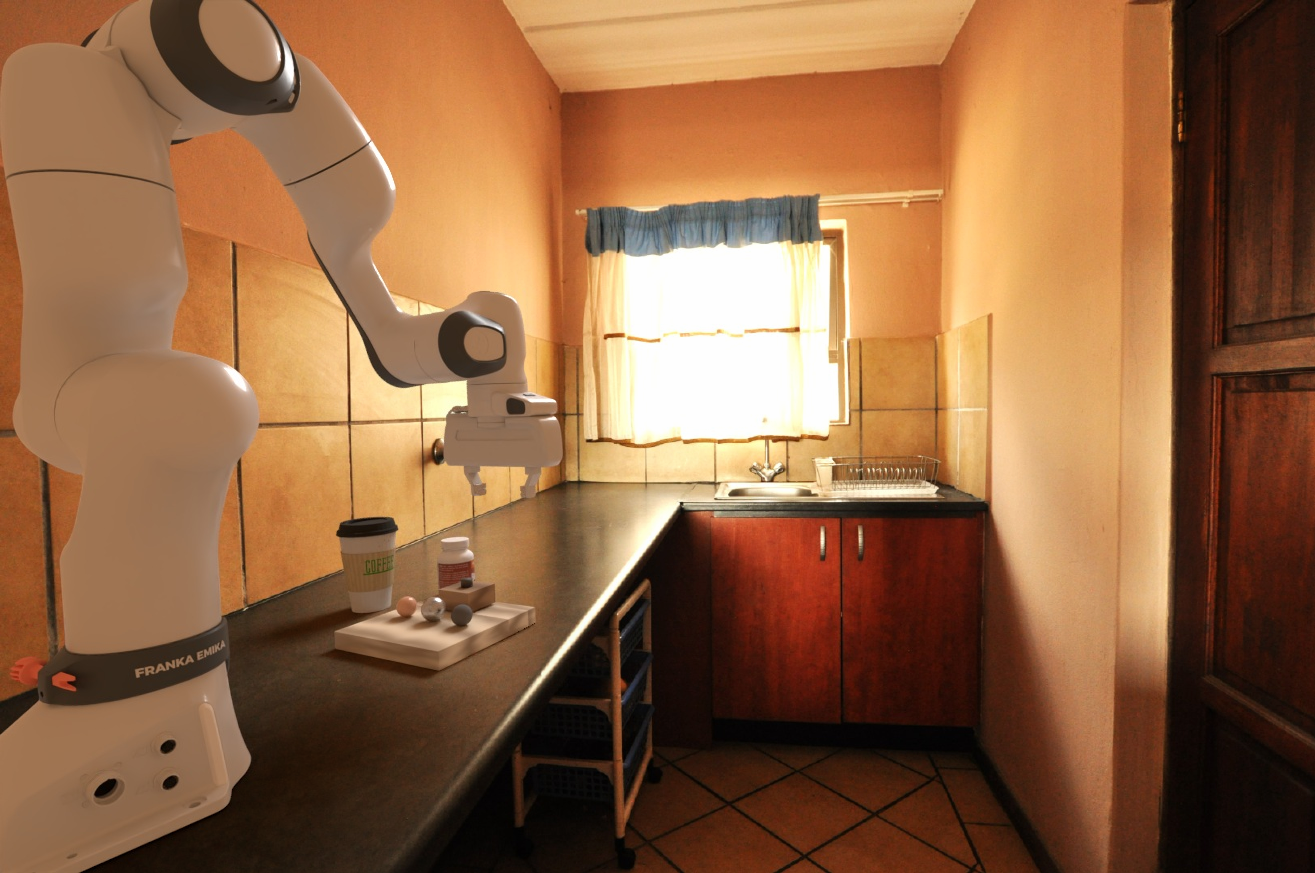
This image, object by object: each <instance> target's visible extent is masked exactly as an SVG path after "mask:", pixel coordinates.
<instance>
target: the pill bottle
mask: <svg viewBox="0 0 1315 873" xmlns="http://www.w3.org/2000/svg"><path fill="white" fill-rule="evenodd" d="M469 546H470V539H469V537H466V536H455V537H454V536H453V537H447V538H443V539H441V540H440V549H441V550H442V552H440V553H439V554H438V556H437V557H436V564H437V565H436V567H437V569H436V570H437V588H438V589H437V591H438V590H439V589H442V588H444V587H447V586H450V585H453V584H456V583H459V582H461V579H462V578H467V577H470V578H473V581H476V572H475V568H476V567H475V556H474V553H473V552H472V550H470V549H468V548H469Z"/></svg>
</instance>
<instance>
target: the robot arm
mask: <svg viewBox="0 0 1315 873" xmlns="http://www.w3.org/2000/svg"><path fill="white" fill-rule="evenodd" d="M331 82H332V81H330V80H329V79H328V78H327V76H326V75H325V74H324V72H322V71H321V69H319V67H318V66H317V65H316V64H315V63H314V62H313V61H312V60H311V59H309V58H308V57H307V56H304V55H302V54H300V53H298V52H294V51H293V49H292V47H291V45H290V43H289V42H288V41H287V40H286V38H285V37H284V34H283V32H282V31H281V30H280V27H278V26H277V25H276V23H275V22H274V19H272V18H271V17H270V15H268V13H267V12H266V11H265V10H264V9H263V8H262V7H261V6H260V5H259V3H257V2H256V1H255V0H137V1H133V2H131V3H128V4H126V5H125V6H123V7H121V8H120V9H119V10H117V11H116V12H115V13H114V14H113V15H112V16H111V17H110V18H109V19H107V20H106V21H105V22H104V24H102V25H101V27H99V28H98V29H95V30H93V31H92V32H91V33H89V34H88V35H87V36H86V37H85V39H84V40H83V41H82V42H81V44H80V45H78V44H72V43H64V42H41V43H34V44H29V45H26V46H23V47H20V48H18V49H17V50H16V51H13V53H11V54H10V55H9V56H8V57H7V59H6V61H5V62H4V65H3V68H2V71H1V82H0V148H1V158H2V166H3V171H4V178H5V184H6V188H7V194H8V200H9V207H10V210H11V211H10V212H11V217H12V222H13V229H14V234H15V240H16V246H17V252H18V256H19V264H20V270H21V278H22V292H23V293H22V322H21V323H22V324H21V338H20V366H19V367H20V370H19V372H20V387H19V392H18V394H17V397H16V399H15V401H14V405H13V409H12V424H13V428H14V432H15V433H16V435H17V437H18V439H19V440H20V442H21V443H22V445H23V446H25V448H26V449H27V450H28V451H29V452H31V453H32V454H33V455H35V456H37V457H38V458H39V459H41V460H42V461H44V462H46V463H48V464H49V465H51V466H53V467H54V468H58V469H59V470H62V471H64V472H67V473H70V474H74V475H79V476H82V482H81V488H80V490H81V491H80V495H79V502H78V507H77V511H76V515H75V516H76V517H75V521H74V524H73V528H72V531H71V534H70V537H69V539H68V541H67V542H66V544H65V545H64V547H63V548H62V551H61V552H60V556H59V570H60V572H59V573H60V587H61V601H62V615H63V628H64V629H63V630H64V642H65V644H64V645H63V646H62V647H61V648H60V649H59V650H58V652H57V653H56V654H55V655H54V656H52V657H51V659H49V661H46V660H44V659H40V658H38V657H35V656H26V657H22V658H20V659H18V660H17V661H16V662H14V666H11V667H10V670H11V671H10V672H9V675H10V676H11V677H10V678H11V679H12V680H13V681H15V682H17V683H22V685H26V686H33V685H37V693H38V701H37V702H36V703H34V704H33V705H32V706H31V707H30V708H29V709H28V710H27V711H25V712H24V713H23V714H22V715H21V716H20V717H19V718H18V719H16V720H15V721H14V722H13V723H12V724H11V725H10V726H8V728H6V729H5V730H4V731H3V732H2V733H1V734H0V873H81V872H83V871H86V870H88V869H90V868H92V867H94V866H97V865H99V864H101V863H105V862H106V861H109V860H110V859H113V858H115V857H118V856H120V855H123V854H125V853H127V852H129V851H131V850H134V849H136V848H138V847H140V846H143V845H145V844H148V843H149V842H152V841H154V840H157V839H159V838H161V837H163V836H166V835H168V834H170V833H172V832H175V831H177V830H179V829H182V828H184V827H186V826H188V825H190V824H194V823H195V822H197V821H200V820H202V819H204V818H207V817H209V816H211V815H213V814H216V813H218V812H219V811H221V810H223V809H224V808H225V807H226V806H228V804H229V803H230V801H231V798H232V797H231V796H232V793H233V792H232V789H233V788H234V786H235V785H236V784H237V783H238V782H239V781H240V779H241V778H242V777H243V776H244V775H245V774H246V772H248V769H249V767H250V765H251V762H252V755H251V753H250V751H249V749H248V748H247V745H246V743H245V741H244V738H243V735H242V733H241V730H240V728H239V724H238V719H237V717H236V712H235V708H234V705H233V704H234V703H233V700H232V696H231V689H230V685H229V678H228V676H229V675H228V672H229V670H230V666H231V665H230V662H231V656H230V655H231V653H230V639H229V638H230V637H229V627H228V620H227V617H225V616H223V615H222V602H221V585H220V583H221V582H220V581H221V580H220V560H219V546H220V544H219V541H220V529H221V522H222V516H223V513H224V512H223V511H224V508H225V503H226V498H227V495H228V490H229V488H230V483H231V479H232V475H233V473H234V470H235V467H236V465H237V463H238V462H239V460H240V459H241V457H243V455H244V454H245V453H246V452H247V451H248V450H249V448H250V447H251V445H252V444H253V443H254V440H255V439H256V436H257V434H258V430H259V424H260V406H259V402H258V399H257V396H256V393H255V391H254V390H253V387H252V386H251V385H250V383H249V382H248V381H247V379H246V378H245V377H244V376H243V375H242V374H241V373H240V372H239V371H238V370H236V369H235V368H234V367H232V366H230V365H229V364H228V363H225V362H223V361H221V360H218V359H216V358H212V357H208V356H205V355H201V354H199V353H194V352H188V351H183V350H179V349H172V346H173V335H174V329H175V324H176V323H175V322H176V318H177V315H178V314H177V313H178V309H179V306H180V304H181V302H182V300H183V299H184V296H185V295H186V293H187V290H188V285H189V271H188V265H187V264H188V263H187V259H186V258H187V257H186V252H185V246H184V239H183V238H184V237H183V232H182V231H183V230H182V226H181V218H180V212H179V203H178V200H177V199H178V198H177V193H176V188H175V187H176V186H175V182H174V176H173V170H172V166H171V162H170V156H171V155H170V154H171V146H174V145H180V144H183V143H186V142H188V141H191V140H192V139H193V138H196V137H201V136H202V137H203V136H205V135H208V134H215V133H216V134H217V133H220V132H223V131H226V130H228V129H230V130H232V131H234V132H235V133H237V134H239V135H240V136H242V137H243V138H244V139H245V140H247V141H248V142H249V143H250V144H251V145H253V146H254V147H255V148H256V149H257V150H258V152H260V154H261V155H262V157H263V159H264V161H265V162H266V163H267V165H268V166H269V168H270V170H271V171H272V173H273V174H274V176H275V177H276V178H277V180H278V181H279V182H280V184H281V185H282V187H283V189H284V190H285V191H286V193H287V194H288V196H289V198H291V201H292V202H293V204H294V205H295V206H296V209H297V210H298V213H299V214H300V216H301V218H302V220H303V223H304V224H305V226H306V229H307V230H306V234H307V242H308V244H309V246H310V249H311V251H312V254H313V256H314V257H315V260H316V261H317V263H318V265H319V267H320V268H321V270H322V272H323V273H324V275H325V277H326V279H327V280H328V283H329V284H330V286H331V287H332V289H333V291H334V293H335V294H336V296H337V298H338V299H339V301H340V303H341V304H342V305H343V307H344V309H345V311H346V312H347V314H348V316H349V317H350V318H351V319H350V320H352V322H353V324H354V325H355V328H356V329H357V331H358V334H359V335H360V337H361V340H362V342H363V344H364V349H365V350H366V354H367V358H368V360H369V363H370V365H371V367H372V368H373V370H374V372H375V373H376V374H377V375H378V378H380V379H381V380H382V381H383V382H385V383H386V384H388V385H390V386H392V387H395V388H397V389H398V388H399V389H408V388H409V389H410V388H415V387H420V386H426V385H429V384H432V385H433V384H446V383H447V384H448V383H453V382H455V383H456V382H465V381H466V382H465V383H466V398H467V405H463V406H462V405H454V406H453V407H452V408H451V409H450V410H449V411H448V412H447V413H446V416H445V427H444V432H443V435H444V436H443V460H444V461H445V463H446V464H447V466H450V467H451V466H452V467H463V474H464V476H465V478H466V480H467V481H468V483H469V484H470V492H471V493H470V494H471V495H472V496H473V497H475V496H476V497H482V496H485V495H486V494H487V489H486V488H487V483H486V482H482V479H481V477H480V475H479V472H481V467H492V468H493V467H494V468H495V467H497V468H498V467H503V468H505V467H506V468H507V467H509V468H524V474H525V475H527V478H526V481H525V483H524V485H520V486H519V490H520V498H523V499H531V498H532V499H533V498H535V497H536V495H537V491H536V489H537V488H536V485H537V483H538V482H539V479H540V478H541V475H542V468H550V467H557V466H558V465H559V464H560V463H561V461H562V459H563V454H564V453H563V452H564V451H563V450H564V449H563V439H562V438H563V436H562V430H561V425H560V422H559V420H558V419H557V418H556V417H555V414H557V412H558V403H557V401H556V400H555V399H552V398H550V397H547V396H544V395H541V394H539V393H536V392H533V391H530V390H529V388H528V387H529V386H528V379H527V376H526V372H525V360H526V357H527V356H526V355H527V347H526V335H525V325H524V320H523V315H522V311H521V308H520V305H519V303H518V302H517V300H516V299H515V298H513V297H512V296H510V295H508V294H505V293H504V292H503V293H502V292H500V291H499V292H498V291H497V292H496V291H489V290H479V291H474V292H471V293H470V294H468V295H467V297H466V299H464V300H463V301H462V302H461V303H459V304H457V305H454V306H452V307H450V308H447V309H444V310H443V311H442V310H441V311H438V312H437V311H435V312H431V313H426V314H417V315H413V314H410V313H407V312H405V311H404V310H402V309H401V308H400V307H399V306H398V305H397V304H396V302H395V300H394V299H393V297H392V294H391V293H390V290H389V288H388V287H387V285H386V284H385V282H384V279H383V278H382V276H381V274H380V273H379V271H378V269H377V266H376V265H375V263H374V260H373V256H372V246H373V241H374V239H375V238H376V237H377V236H378V235H379V234H380V232H382V230H383V229H384V228H385V227H386V225H387V224H388V222H389V221H390V219H391V217H392V215H393V213H394V208H395V204H396V196H397V192H396V191H397V189H396V185H395V181H394V179H393V176H392V174H391V171H390V169H389V167H388V165H387V163H386V161H385V160H384V157H383V155H381V152H380V151H379V149H378V148H377V147H376V145H375V143H374V141H373V140H372V139H371V136H370V135H369V133H368V132H367V130H366V129H365V128H364V125H363V124H362V123H361V121H360V120H359V118H358V117H357V116H356V114H355V113H354V111H353V110H352V108H351V106H350V105H349V104H348V103H347V102H346V100H345V99H344V98H343V97H342V95H341V94H340V92H339V91H338V90H337V89H336V87H335V86H334V85H333V84H332V83H331Z"/></svg>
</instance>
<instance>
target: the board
mask: <svg viewBox="0 0 1315 873" xmlns="http://www.w3.org/2000/svg"><path fill="white" fill-rule="evenodd" d="M431 597H438V598H439V593H438V594H435V595H433V596H431ZM431 597H428V598H431ZM428 598H425V599H424V598H423V599H422V600H419V601H416V602H417V610H416V612H415V613H414V614H413V615H411V616H409V617H403V616H401V615H399V614H398V612H397V610H396V609H394V610H391V611H388V612H386V613H381V614H379V615H376V616H374V617H370V618H368V619H366V620H363V621H360V622H357V623H354V624H352V625H348V626H346V627H343V628H340V629H337V630H335V631H334V648H335V649H336V650H340V651H345V652H348V653H349V652H350V653H354V654H358V655H363V656H368V657H371V658H372V657H374V658H377V659H382V660H387V661H392V662H396V663H401V664H406V665H411V666H415V667H420V668H425V669H429V670H435V671H441V670H444V669H446V668H448V667H449V666H451V665H455V664H456V663H458V662H459V661H462V660H464V659H466V658H468V657H469V656H472V655H474V654H476V653H478V652H480V651H481V650H484V649H486V648H489V647H490V646H492V645H494V644H496V643H498V642H501V641H502V640H504V639H506V638H509V637H510V636H512V635H514V634H516V633H518V631H519V632H520V631H522V630H524V628H525V629H527V628H528V626H529V627H530V626H532V624H533V625H535V624H536V622H537V620H536V607H535V606H529V605H523V604H515V603H507V602H500V601H496V602H495V603H492V604H490V605H488V606H485V607H483V608H480V609H478V610H475V611H473V612H472V613H473V616H472V619H471V621H470V622H469V623H468V624H467V625H464V626H458V625H455V624H454V623H453V622H452V620H451V612H452V611H451V610H446V612H445V614H444V616H443V617H442V618H441V619H439V620H437V621H428V620H426V619H425V618H424V617H423V616H422V614H421V607H422V604H423V603H424V601H425V600H427V599H428ZM534 623H535V624H534ZM526 627H527V628H526Z"/></svg>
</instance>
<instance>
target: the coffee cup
mask: <svg viewBox="0 0 1315 873" xmlns="http://www.w3.org/2000/svg"><path fill="white" fill-rule="evenodd" d="M395 521H396V520H395V518H394V517H391V516H369V517H361V518H359V517H358V518H353V519H348V520H344V521H341V522H340V523H339V526H338V529H337V530H336V531H335V532H336V534H335V536H336V537H337V538H338V540H339V546H340V549H341V550H340V556H341V562H342V563H341V564H342V568H343V573H344V579H345V585H346V589H347V592H348V596H349V601H350V608H351V612H353V613H357V614H364V613H365V614H369V613H370V614H371V613H376V612H379V611H380V612H381V611H383V610H387V609H388V608H390V607H391V605H392V594H393V593H392V592H393V585H394V579H395V578H394V577H395V566H396V550H397V545H396V534H397V532H398V531H399V527H398V526H399V525H398V524H396V522H395Z"/></svg>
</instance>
